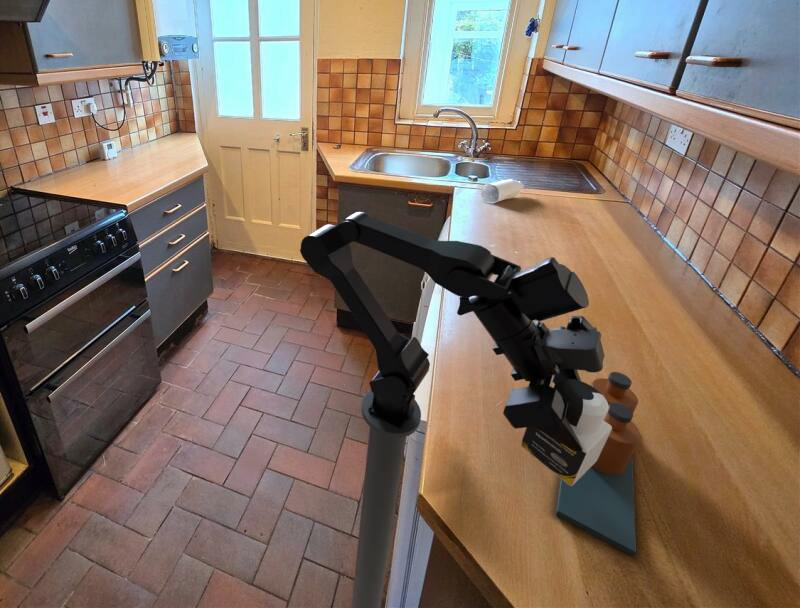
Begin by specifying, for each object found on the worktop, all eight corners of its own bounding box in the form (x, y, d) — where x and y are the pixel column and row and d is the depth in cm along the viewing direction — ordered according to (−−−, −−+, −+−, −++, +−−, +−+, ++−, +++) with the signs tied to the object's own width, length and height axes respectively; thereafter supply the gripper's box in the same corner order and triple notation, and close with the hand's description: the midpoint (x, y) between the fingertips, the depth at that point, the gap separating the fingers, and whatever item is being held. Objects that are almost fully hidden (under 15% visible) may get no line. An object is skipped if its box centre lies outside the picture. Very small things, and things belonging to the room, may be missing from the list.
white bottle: (526, 198, 167) (531, 179, 164) (496, 206, 159) (500, 187, 156) (509, 192, 173) (513, 174, 170) (479, 199, 166) (482, 181, 162)
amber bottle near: (575, 460, 62) (595, 414, 58) (578, 432, 66) (596, 387, 62) (624, 483, 59) (649, 435, 55) (624, 452, 63) (646, 406, 59)
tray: (555, 514, 56) (557, 510, 56) (569, 400, 74) (571, 396, 73) (633, 556, 51) (636, 552, 51) (628, 424, 69) (630, 420, 68)
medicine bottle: (518, 446, 59) (539, 385, 54) (545, 424, 63) (567, 365, 58) (570, 488, 54) (599, 424, 49) (597, 461, 57) (626, 399, 52)
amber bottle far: (578, 426, 68) (596, 381, 63) (581, 402, 72) (598, 359, 68) (624, 445, 64) (646, 399, 60) (623, 419, 69) (644, 374, 65)
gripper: (559, 351, 44) (653, 480, 42) (580, 278, 57) (652, 374, 55) (471, 372, 52) (547, 481, 50) (507, 304, 65) (569, 389, 63)
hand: (582, 427), depth 54 cm, fingers closed on medicine bottle, 8 cm apart
